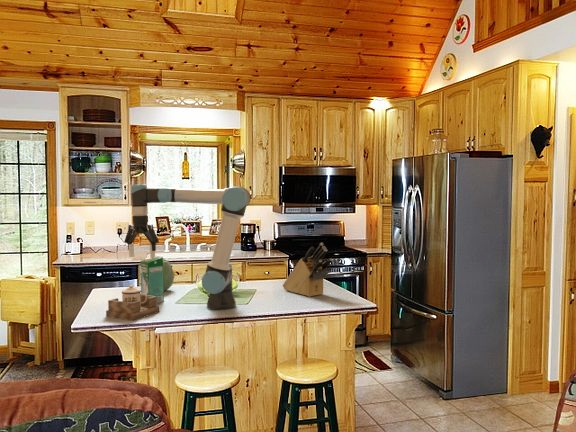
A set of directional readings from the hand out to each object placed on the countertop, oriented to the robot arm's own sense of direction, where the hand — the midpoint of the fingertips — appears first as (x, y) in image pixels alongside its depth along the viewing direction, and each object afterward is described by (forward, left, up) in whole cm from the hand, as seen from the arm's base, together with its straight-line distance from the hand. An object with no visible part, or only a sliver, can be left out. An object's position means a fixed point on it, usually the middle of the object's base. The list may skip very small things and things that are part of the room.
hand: (142, 257), depth 253 cm
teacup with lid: (+1, +5, -25) cm, 26 cm away
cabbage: (+28, -46, -28) cm, 61 cm away
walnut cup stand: (+2, +5, -28) cm, 29 cm away
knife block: (-56, -76, -28) cm, 99 cm away
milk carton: (+13, -21, -28) cm, 37 cm away
